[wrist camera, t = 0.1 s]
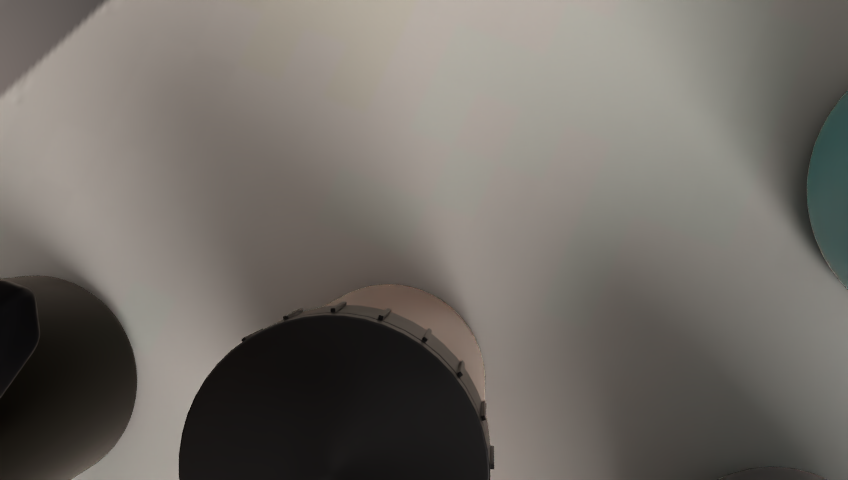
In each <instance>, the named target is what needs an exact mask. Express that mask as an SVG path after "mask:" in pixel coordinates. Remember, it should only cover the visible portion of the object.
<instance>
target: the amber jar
mask: <svg viewBox="0 0 848 480" xmlns="http://www.w3.org/2000/svg"><path fill="white" fill-rule="evenodd" d="M341 302H347V305H361V306H367V307H373V308H378V309H382V310H385V309H386V308H390V309H391V312H392V313H395V314H397V315H400V316H402V317H404V318H406V319H408V320H411V321H413V322H414V323H416V324H418V325H419V326H421V327H423V328H424V329H426V330H427V329H428V328H430V329H431V330H432V332H431V334H433V335H434V336H435V337H436V338H438V339H439V340H440V341H441V342H442V343H444V344H445V345H446V347H447V348H448V349H449V350H450V351H451V352H452V353H453V354H454V355H455V356H456V357H457V358H458V360H459V361H461V360H463V361H464V362H465V367H464V368H465V369H466V371H467V372H468V374H469V376H470V378H471V379H472V381H473V383H474V385H475V387H476V389H477V391H478V393H479V396H480V399H481V401H485V370H484V363H483V359H482V355H481V351H480V349H479V346H478V343H477V341H476V339H475V337H474V335H473V333H472V332H471V330H470V328H469V327H468V326H467V324H466V323H465V321H464V320H463V319H462V318H461V317H460V316H459V315H458V313H457V312H456V311H455V310H454V309H452V308H451V307H450V306H449V305H447V304H446V303H445V302H444V301H442V300H440V299H439V298H437V297H436V296H434V295H432V294H430V293H427V292H425V291H423V290H420V289H417V288H414V287H410V286H404V285H398V284H380V285H372V286H368V287H363V288H360V289H357V290H355V291H352V292H349V293H347V294H346V295H344V296H342V297H340V298H338V299H336V300H334V301H332V302H330V303H328V304H327V305H325V306H334V305H337V304H339V303H341ZM323 307H324V306H323Z"/></svg>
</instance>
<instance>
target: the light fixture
mask: <svg viewBox="0 0 848 480" xmlns="http://www.w3.org/2000/svg"><path fill="white" fill-rule="evenodd" d="M718 480H827V479H825V478H822V477H820V476H818V475H816V474H813V473H809V472H805V471H801V470H797V469H793V468H781V467H764V468H753V469H748V470H744V471H740V472H736V473H732V474H729V475H727V476H724V477H722V478H720V479H718Z"/></svg>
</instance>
